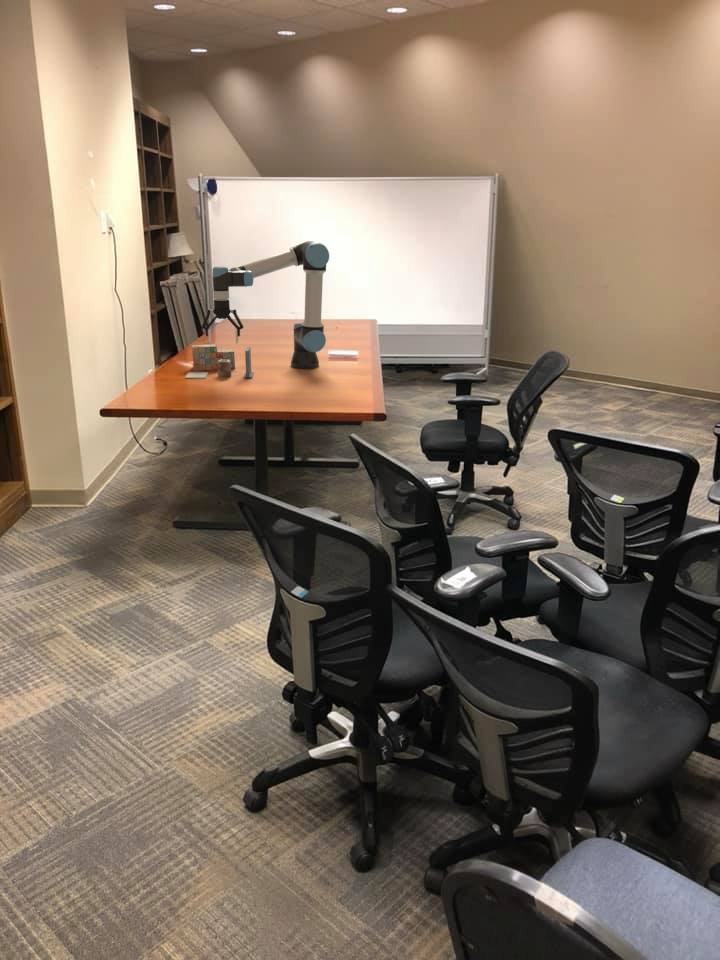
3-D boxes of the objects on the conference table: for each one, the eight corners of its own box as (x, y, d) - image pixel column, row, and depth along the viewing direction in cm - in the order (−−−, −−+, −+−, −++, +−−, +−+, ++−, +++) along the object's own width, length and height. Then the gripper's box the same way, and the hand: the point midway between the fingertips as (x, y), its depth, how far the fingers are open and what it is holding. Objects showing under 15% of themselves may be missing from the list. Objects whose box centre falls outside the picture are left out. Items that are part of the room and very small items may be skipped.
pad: (208, 373, 390) (208, 372, 390) (205, 378, 379) (205, 377, 379) (188, 373, 390) (188, 372, 389) (184, 378, 378) (184, 377, 378)
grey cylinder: (231, 374, 388) (230, 359, 385) (230, 377, 382) (229, 361, 380) (219, 374, 388) (218, 358, 385) (218, 377, 382) (217, 361, 379)
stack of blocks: (234, 366, 407) (233, 343, 403) (235, 369, 402) (234, 345, 397) (193, 367, 403) (191, 344, 398) (193, 370, 397) (192, 346, 393)
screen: (253, 373, 392) (252, 346, 387) (251, 378, 380) (250, 350, 375) (245, 373, 391) (244, 346, 386) (243, 378, 380) (242, 350, 375)
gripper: (247, 298, 376) (249, 341, 383) (196, 298, 375) (199, 341, 382) (246, 300, 369) (248, 344, 376) (194, 300, 368) (197, 344, 375)
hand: (223, 343), depth 379 cm, fingers open, 13 cm apart
